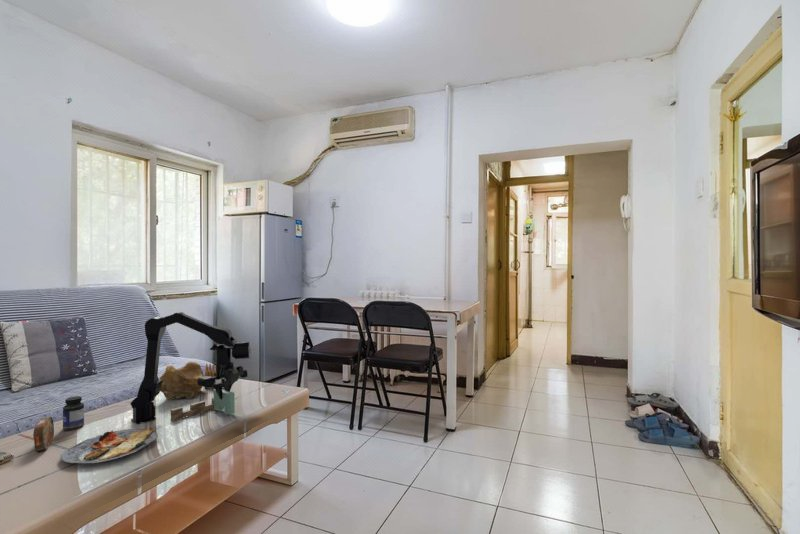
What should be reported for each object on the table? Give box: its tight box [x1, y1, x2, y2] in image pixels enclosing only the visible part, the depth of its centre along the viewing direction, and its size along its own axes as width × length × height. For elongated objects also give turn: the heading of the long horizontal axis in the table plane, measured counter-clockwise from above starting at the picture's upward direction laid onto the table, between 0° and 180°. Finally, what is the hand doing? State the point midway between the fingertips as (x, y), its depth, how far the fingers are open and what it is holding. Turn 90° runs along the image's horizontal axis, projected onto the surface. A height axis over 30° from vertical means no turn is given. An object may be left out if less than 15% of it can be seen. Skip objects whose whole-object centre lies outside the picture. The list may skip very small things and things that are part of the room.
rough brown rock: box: [159, 361, 205, 401], centre depth 183 cm, size 23×17×15 cm
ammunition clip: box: [204, 362, 224, 387], centre depth 197 cm, size 11×2×12 cm, turn 86°
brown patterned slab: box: [32, 416, 55, 452], centre depth 130 cm, size 15×3×8 cm, turn 32°
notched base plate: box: [170, 397, 215, 422], centre depth 160 cm, size 20×2×4 cm, turn 144°
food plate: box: [59, 427, 159, 465], centre depth 126 cm, size 25×23×4 cm
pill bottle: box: [62, 395, 85, 431], centre depth 146 cm, size 6×6×11 cm
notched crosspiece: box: [213, 388, 236, 415], centre depth 159 cm, size 2×12×8 cm, turn 54°
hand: (223, 398), depth 159 cm, fingers closed on notched crosspiece, 2 cm apart
